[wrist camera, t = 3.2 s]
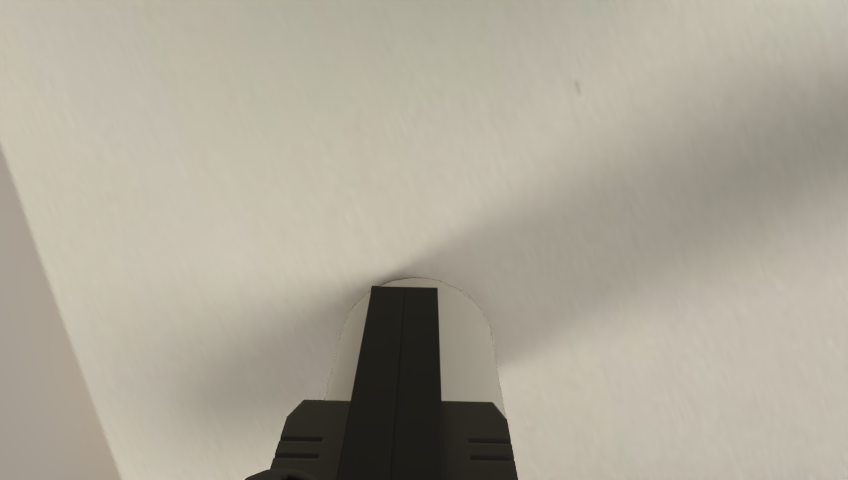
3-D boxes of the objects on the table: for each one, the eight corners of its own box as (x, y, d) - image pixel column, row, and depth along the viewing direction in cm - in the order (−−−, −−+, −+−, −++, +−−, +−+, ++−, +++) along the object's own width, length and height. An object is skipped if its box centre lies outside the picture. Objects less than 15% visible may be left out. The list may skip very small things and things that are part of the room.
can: (372, 415, 34) (344, 624, 23) (320, 295, 31) (259, 466, 20) (508, 378, 33) (548, 578, 22) (466, 250, 30) (486, 404, 19)
